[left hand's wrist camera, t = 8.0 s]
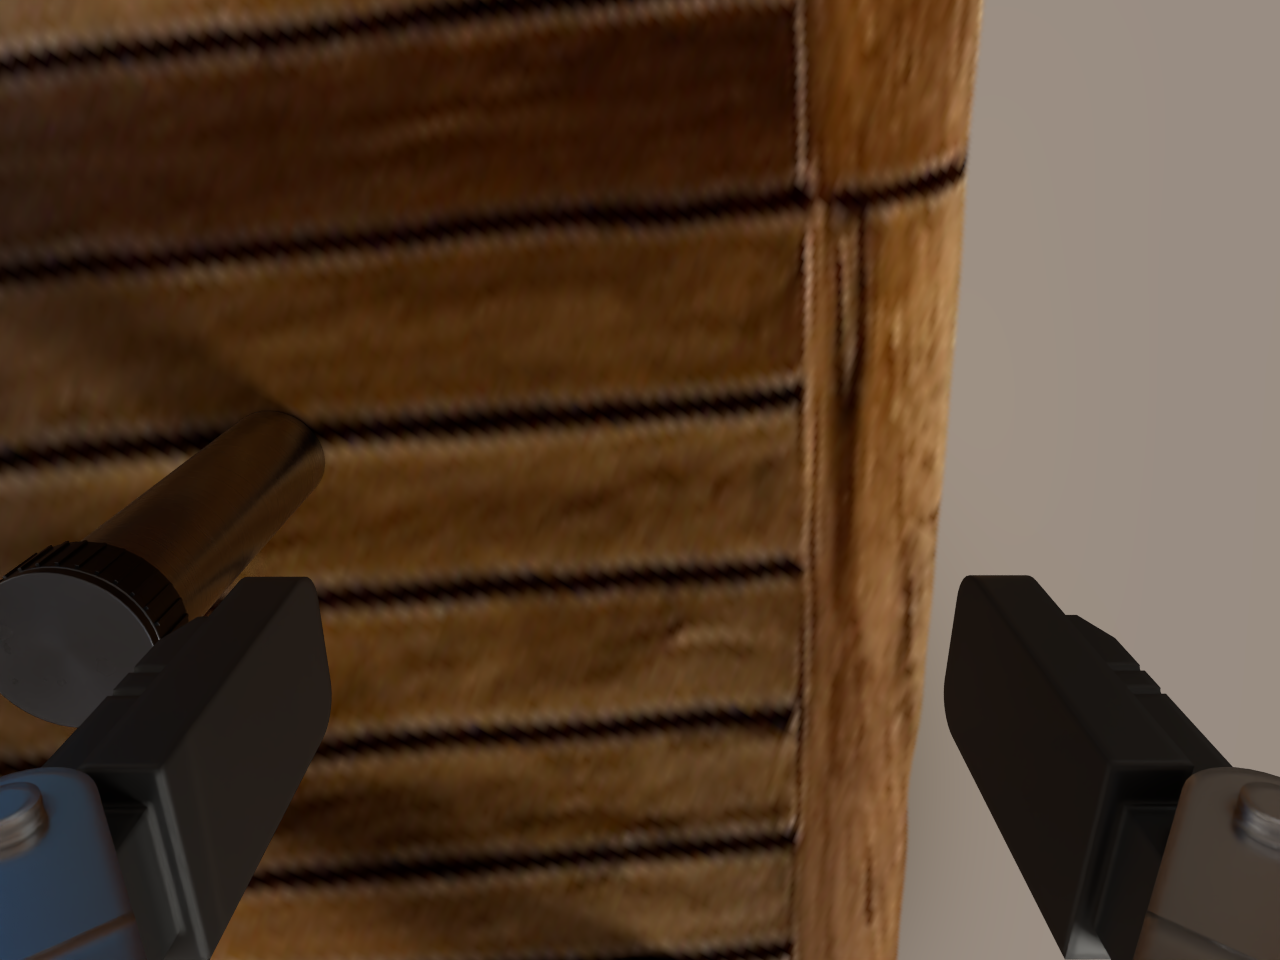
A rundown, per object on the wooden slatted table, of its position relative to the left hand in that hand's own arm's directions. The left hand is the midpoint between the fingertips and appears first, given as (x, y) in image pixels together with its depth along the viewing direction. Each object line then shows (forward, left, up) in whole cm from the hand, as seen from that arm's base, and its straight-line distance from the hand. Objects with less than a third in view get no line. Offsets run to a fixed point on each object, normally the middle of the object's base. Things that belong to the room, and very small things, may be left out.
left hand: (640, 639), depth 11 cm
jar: (-8, +17, -29) cm, 35 cm away
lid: (-8, +17, -13) cm, 23 cm away
